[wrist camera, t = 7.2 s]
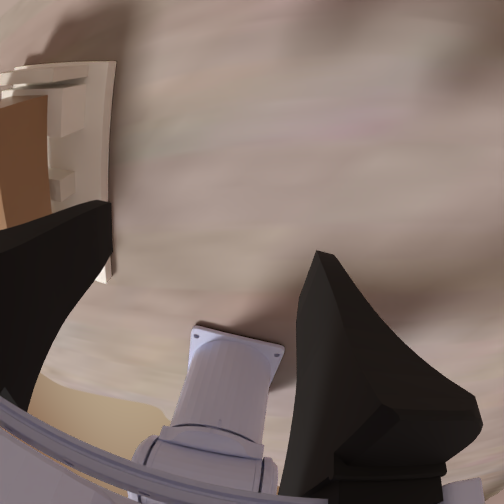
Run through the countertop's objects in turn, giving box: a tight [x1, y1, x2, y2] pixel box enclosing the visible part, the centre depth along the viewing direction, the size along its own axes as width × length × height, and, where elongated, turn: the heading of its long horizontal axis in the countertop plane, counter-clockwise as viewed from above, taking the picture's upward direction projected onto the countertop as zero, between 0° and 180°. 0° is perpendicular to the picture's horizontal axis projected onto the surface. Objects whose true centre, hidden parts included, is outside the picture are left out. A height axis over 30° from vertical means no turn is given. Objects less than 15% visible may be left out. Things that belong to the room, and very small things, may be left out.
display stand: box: [0, 61, 117, 284], centre depth 19 cm, size 17×9×4 cm, turn 169°
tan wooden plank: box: [0, 95, 52, 230], centre depth 16 cm, size 13×4×4 cm, turn 169°
